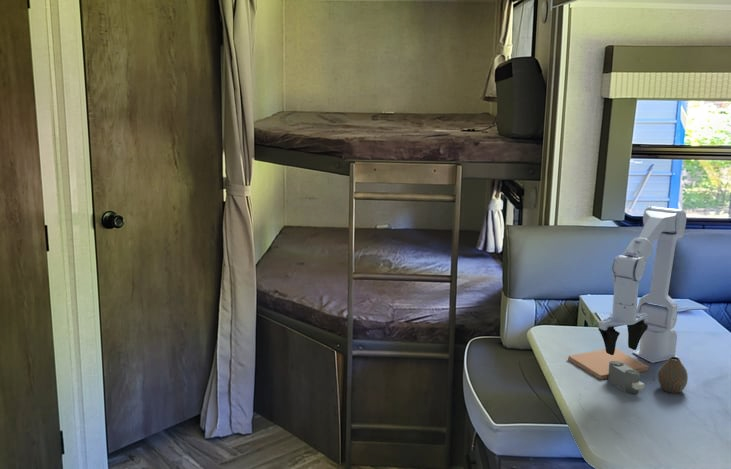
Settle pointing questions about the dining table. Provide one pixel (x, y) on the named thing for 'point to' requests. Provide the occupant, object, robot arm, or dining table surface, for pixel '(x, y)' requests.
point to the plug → (624, 377)
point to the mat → (604, 362)
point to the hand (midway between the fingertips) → (621, 351)
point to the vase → (672, 375)
